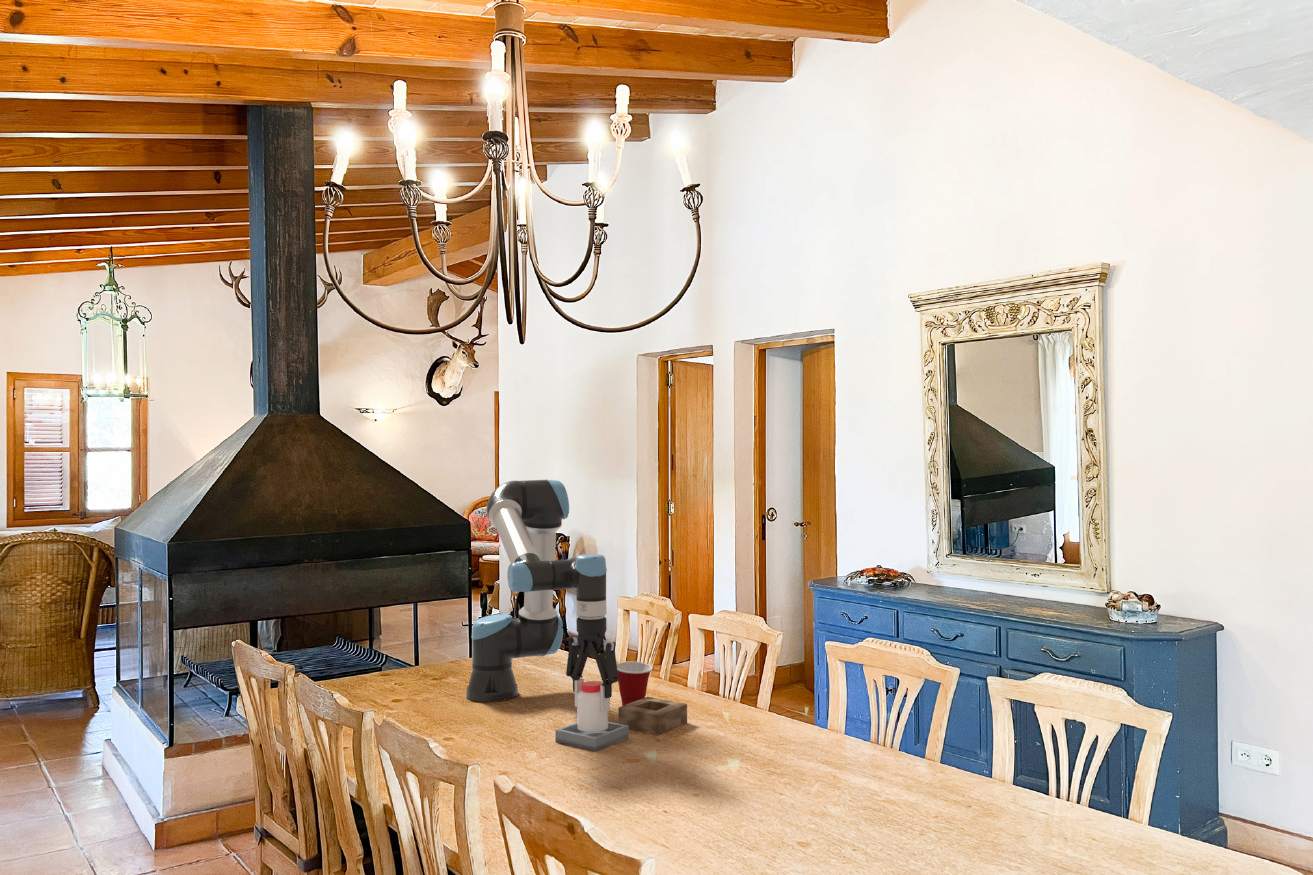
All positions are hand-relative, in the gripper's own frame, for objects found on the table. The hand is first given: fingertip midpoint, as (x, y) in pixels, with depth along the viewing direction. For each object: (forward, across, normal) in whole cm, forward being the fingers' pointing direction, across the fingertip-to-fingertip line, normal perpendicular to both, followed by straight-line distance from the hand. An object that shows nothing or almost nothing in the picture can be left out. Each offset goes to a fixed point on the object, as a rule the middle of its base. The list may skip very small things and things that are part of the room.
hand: (592, 707), depth 231 cm
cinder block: (+8, +5, +19) cm, 21 cm away
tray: (+8, 0, 0) cm, 8 cm away
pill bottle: (+5, 0, 0) cm, 5 cm away
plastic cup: (+8, -9, +29) cm, 31 cm away
